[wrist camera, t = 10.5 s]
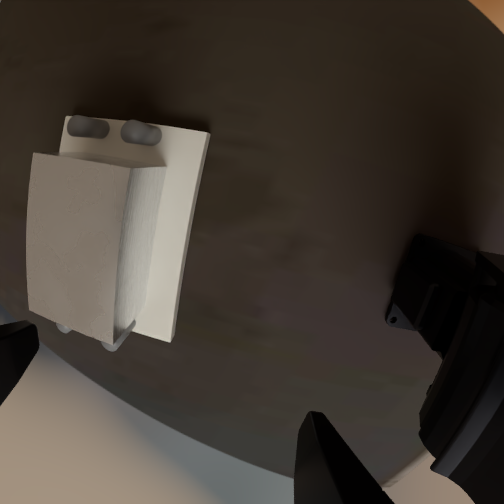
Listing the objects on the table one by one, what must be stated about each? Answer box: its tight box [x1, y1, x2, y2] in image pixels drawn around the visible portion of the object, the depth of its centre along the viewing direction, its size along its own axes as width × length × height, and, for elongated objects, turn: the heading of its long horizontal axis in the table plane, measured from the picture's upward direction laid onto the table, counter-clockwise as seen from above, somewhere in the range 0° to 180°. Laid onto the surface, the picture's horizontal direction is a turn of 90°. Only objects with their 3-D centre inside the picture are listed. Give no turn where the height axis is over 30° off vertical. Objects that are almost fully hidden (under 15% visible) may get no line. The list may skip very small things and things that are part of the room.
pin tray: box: [56, 115, 211, 351], centre depth 17 cm, size 10×14×4 cm
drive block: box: [26, 152, 167, 345], centre depth 16 cm, size 6×9×5 cm, turn 166°
